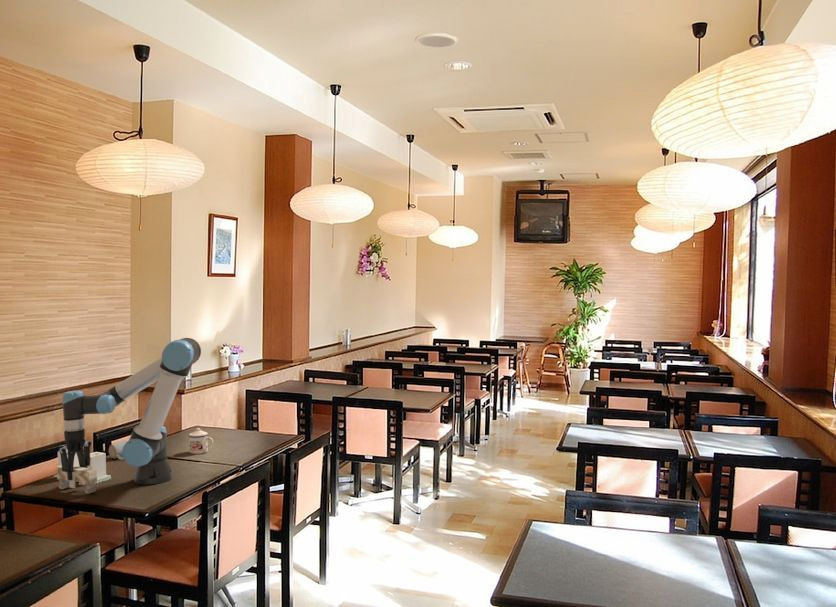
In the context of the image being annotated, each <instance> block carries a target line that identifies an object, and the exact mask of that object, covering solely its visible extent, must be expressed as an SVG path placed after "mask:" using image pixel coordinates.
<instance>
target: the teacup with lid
mask: <svg viewBox="0 0 836 607" xmlns="http://www.w3.org/2000/svg"><path fill="white" fill-rule="evenodd" d="M208 435H209V433H208V432H207V431H204V430H202V429H201V428H198V427H197V428H196V429H195V430H194V431H192V432H191V433H189V434H188V440H189V442H188V443H189V453H190V454H193V455H201V454H205V453H207V452H208V451H209V450H208V448H211V447H212V446H213V445H214V440H213V438H212V437H210V436H209V437H208ZM208 440H210V441H211V442H210V444H208V442H209V441H208Z"/></svg>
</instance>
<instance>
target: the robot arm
mask: <svg viewBox="0 0 836 607" xmlns="http://www.w3.org/2000/svg"><path fill="white" fill-rule="evenodd" d="M201 354H202V348H201V345H200V344H199V342H198V341H197V340H196V339H193V338H191V337H184V338H183V337H182V338H180V339H175V340H173V341H170V342H169V343H167V345H165V347H164V348H163V350H162V352H161V357H160V358H158V359H156V360H154V361H153V362H152V363H150V364H148V365H146V366H145V367H143V368H142V369H140V370H139V371H137V372H135V373H133V374H132V375H131V376H128V377H127V378H125V379H124V380H123V381H120V382H118V384H116V385H114V386H113V387H111V388H109V389H108V390H106V391H104V392H102V393H99V394H95V395H84V392H83V391H82V390H70V391H66V392H64V393H62V403H61V405H62V412H63V413H62V414H63V430H64V432H63V433H64V436H63V437H64V439H63V440H65V441H64V446H63V447H59V448H58V452H60V455H61V464H62V471H63V472H67V477H68V480H69V486H70V487H69V488H70V489H76V486H77V485H76V483H75V472H73V466H74V456H75V454H76V453H77V457H78V461H79V466H80V467H83V468H87V466H89V465H90V453H91V445H92V441H88V440H86V439H85V438H86V431H85V427H86V425H85V415H105V414H112V413H113V412H114V410H115V409H116V407H118V406H119V405H121V404H122V403H123V402H125V401H126V400H128V399H130V398H131V397H133V396H135V395H136V394H138V393H139V392H141V391H143V390H144V389H146V388H148V387H149V386H151V385H153V384H154V383H156V384H155V387H154V389H153V391H152V394H151V396H150V399H149V401H148V404H147V406H146V408H145V411H144V412H143V413H144V414H143V416H142V418H141V421H140V423H139V424H138V425H137V426H135V427H134V428H133V430H132V432H131V435H130V437H129V439H128V440H126V441H127V442H126V443H125V445H124V447H123V449H122V455H123V457H124V459H125V460H124V461H125V462H126V463H127V464H128V465H130V466H131V467H136V471H135V474H134V478H133V479H134V483H135V484H136V485H137V484H138V485H155V484H161V483H165V482H167V481H168V482H169V481H170V480H171V479H172V478H173V472H172V470H171V466H170V464H169V461H168V444H167V443H168V441H167V439H168V438H167V435H168V432H167V428H166V426H164V424H165V421H166V418H167V417H168V414H169V412H170V409H171V407H172V404H173V402H174V399H175V397H176V395H177V394H178V390H179V387H180V385H181V384H182V383H181V382H182V381H183V379H185V378H188V376H189V373H190V371H191V368H192V366H193V365H194V364H195V363H196V362H198V360H199V359H200V358H201ZM67 450H68V453H67ZM67 454H68V458H67ZM78 485H79V486H85V483H78Z"/></svg>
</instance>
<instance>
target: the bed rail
mask: <svg viewBox="0 0 836 607" xmlns="http://www.w3.org/2000/svg"><path fill="white" fill-rule="evenodd" d="M73 472H75V482H79V483H85V485H84V493H85V494H88V495H89V494H92V493H96V491H97V487H96V482H97V470H96V469H90V468H83V467H77V466H73ZM56 474H57V479H56V480H58V488H59V489H60V490H64V489H67V488H70V486H69V480H68V477H67V472H63V471H62V465H61V466H58V465H57V466H56ZM79 483H78V484H79Z"/></svg>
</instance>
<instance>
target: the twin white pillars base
mask: <svg viewBox="0 0 836 607" xmlns="http://www.w3.org/2000/svg"><path fill="white" fill-rule="evenodd" d="M66 450H67V449H66ZM67 453H68V450H67ZM106 456H107V455H106V453H105V452H99V451H95V452H90V465H89V466H87V468H90V469H96V470H97V482H96V483H97V484H100V483H102V481H103V482H106V481H109V479H110V480H112V475H110V474H107V462H106V461H107V459H106V458H107V457H106ZM67 458H68V454H67ZM61 465H62V464H61V455H60V452H59V451H57V467H58V466H61ZM74 466H77V467H80V466H79V461H78V457H77V453H76V454H75V456H74ZM54 477H57V473H56V474H54V475H53V478H54ZM99 482H100V483H99Z"/></svg>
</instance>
